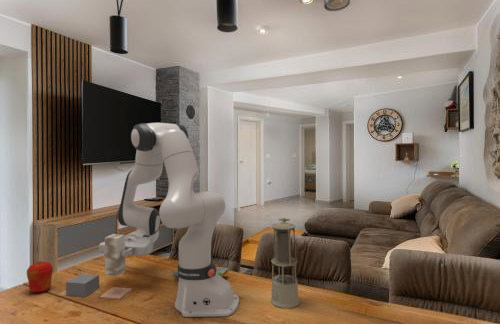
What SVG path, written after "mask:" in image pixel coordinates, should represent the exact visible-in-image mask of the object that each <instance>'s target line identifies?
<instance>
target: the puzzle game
mask: <svg viewBox="0 0 500 324" xmlns="http://www.w3.org/2000/svg"><path fill="white" fill-rule="evenodd" d="M177 270H178V269H176V270H174V271H173V274H172V276H173V277H174V278H175V280H177V281H179V280H178V275H177ZM229 272H230V269H229V268H227V267H222V266H217V268H216V273H217V274H218V275H220V276H221V277H222V278H223V277H224V276H225V275H226V274H227V273H229Z"/></svg>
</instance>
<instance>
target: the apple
mask: <svg viewBox="0 0 500 324" xmlns="http://www.w3.org/2000/svg"><path fill="white" fill-rule="evenodd" d="M53 268H54V267H53V265H52V263H51V262H48V261H41V260H39V261H38V262H36V263H33V264H31V265H29V267H28V268H27V269H26V276H27V277H26V278H27V280H28V286H29V290H30V291H31V292H33V293H35V294H37V293H44V292H46V291H48V290H49V289H50V287H51V286H52V277H53V270H54V269H53Z"/></svg>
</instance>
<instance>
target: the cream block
mask: <svg viewBox="0 0 500 324" xmlns="http://www.w3.org/2000/svg"><path fill="white" fill-rule="evenodd" d="M125 236H126V234H119V233H118V234H117V233H112V234H110V235H108V236H106V237H104V242H105V255H104V259H105V261H104V265H105V268H104V269H105V270H104V271H105V276H109V277H111V276H112V277H113V276H114V277H119V276H121V275H122V274H123V273H125V272H126V256H125V257H121V256H120V252H122V251H125Z"/></svg>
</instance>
